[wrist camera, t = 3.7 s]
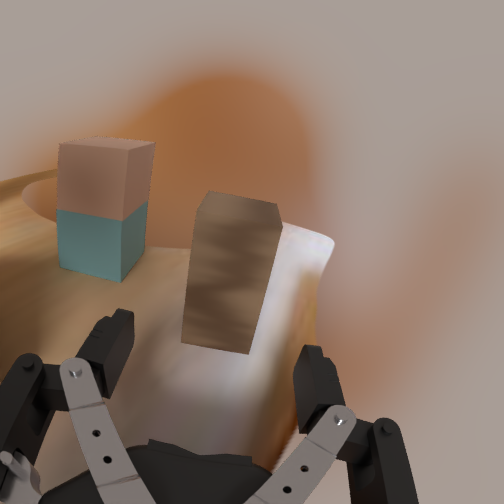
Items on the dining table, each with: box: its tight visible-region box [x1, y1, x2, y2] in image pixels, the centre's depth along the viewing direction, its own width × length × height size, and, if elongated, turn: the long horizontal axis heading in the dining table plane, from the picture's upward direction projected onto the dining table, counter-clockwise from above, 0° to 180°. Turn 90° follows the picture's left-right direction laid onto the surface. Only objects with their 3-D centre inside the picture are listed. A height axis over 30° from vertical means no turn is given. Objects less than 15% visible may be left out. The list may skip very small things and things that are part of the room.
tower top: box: [57, 137, 155, 221], centre depth 26 cm, size 7×7×6 cm
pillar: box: [181, 191, 283, 355], centre depth 22 cm, size 5×5×10 cm
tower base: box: [56, 200, 148, 283], centre depth 28 cm, size 7×7×6 cm
